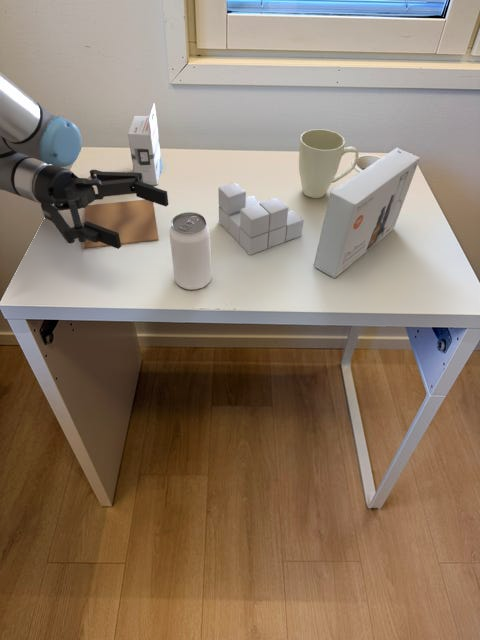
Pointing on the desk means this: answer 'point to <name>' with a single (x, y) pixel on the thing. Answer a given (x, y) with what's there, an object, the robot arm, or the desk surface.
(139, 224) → the wooden coaster
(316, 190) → the mug
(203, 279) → the can
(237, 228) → the stacked white cubes
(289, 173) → the desk surface
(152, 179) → the ink box
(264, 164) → the desk surface
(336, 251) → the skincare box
